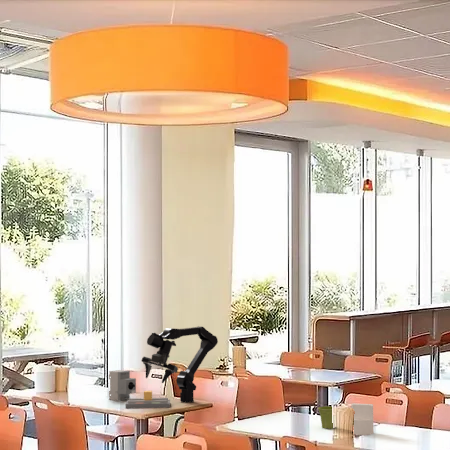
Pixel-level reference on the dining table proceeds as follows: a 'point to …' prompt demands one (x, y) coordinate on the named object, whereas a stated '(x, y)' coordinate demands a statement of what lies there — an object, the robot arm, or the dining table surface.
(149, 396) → the toggle
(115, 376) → the circuit breaker
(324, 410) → the plant pot
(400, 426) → the dining table surface
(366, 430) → the grey upright block
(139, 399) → the panel
